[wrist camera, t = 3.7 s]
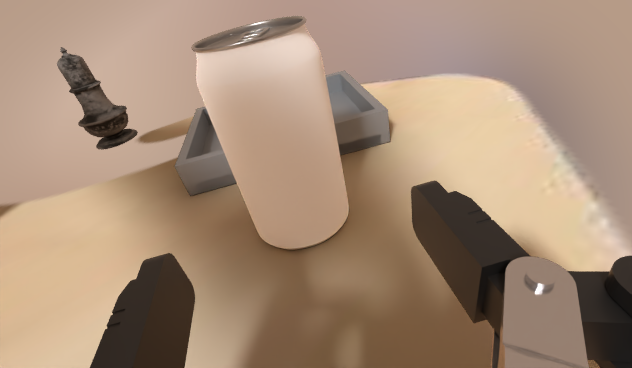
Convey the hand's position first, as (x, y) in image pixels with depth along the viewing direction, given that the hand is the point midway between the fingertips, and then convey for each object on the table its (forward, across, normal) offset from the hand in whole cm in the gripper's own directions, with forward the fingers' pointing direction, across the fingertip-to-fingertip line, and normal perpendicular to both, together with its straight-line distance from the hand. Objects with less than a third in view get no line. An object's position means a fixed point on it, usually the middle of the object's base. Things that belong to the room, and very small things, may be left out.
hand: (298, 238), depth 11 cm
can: (+9, 0, +7) cm, 12 cm away
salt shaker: (+36, +22, +7) cm, 43 cm away
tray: (+23, 0, +7) cm, 24 cm away
